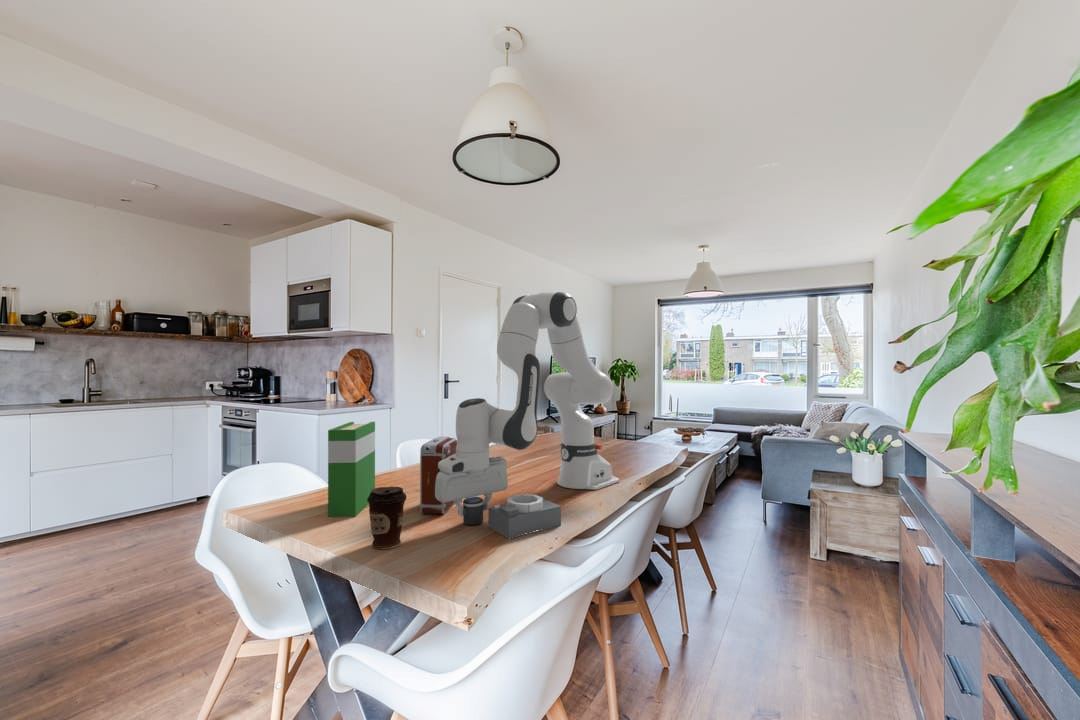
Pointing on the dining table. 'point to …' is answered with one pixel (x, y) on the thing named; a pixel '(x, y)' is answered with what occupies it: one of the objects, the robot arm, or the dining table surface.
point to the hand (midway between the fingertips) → (473, 512)
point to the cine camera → (433, 473)
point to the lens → (473, 510)
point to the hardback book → (350, 468)
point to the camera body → (523, 515)
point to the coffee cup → (386, 516)
